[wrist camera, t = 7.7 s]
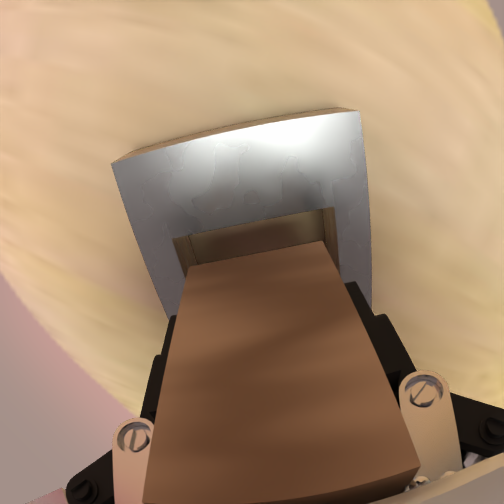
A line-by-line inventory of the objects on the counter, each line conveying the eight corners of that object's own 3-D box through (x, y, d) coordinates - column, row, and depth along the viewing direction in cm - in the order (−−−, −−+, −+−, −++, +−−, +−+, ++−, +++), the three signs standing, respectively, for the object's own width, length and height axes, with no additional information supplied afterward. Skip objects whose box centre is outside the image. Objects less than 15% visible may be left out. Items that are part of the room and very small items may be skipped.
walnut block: (322, 240, 11) (420, 465, 4) (330, 338, 13) (382, 521, 6) (189, 266, 11) (141, 502, 4) (222, 358, 13) (218, 544, 6)
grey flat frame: (352, 423, 23) (359, 447, 20) (244, 442, 23) (245, 467, 21) (338, 107, 12) (359, 110, 10) (131, 151, 13) (110, 163, 11)
